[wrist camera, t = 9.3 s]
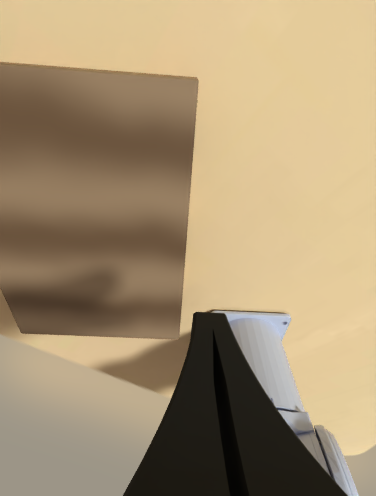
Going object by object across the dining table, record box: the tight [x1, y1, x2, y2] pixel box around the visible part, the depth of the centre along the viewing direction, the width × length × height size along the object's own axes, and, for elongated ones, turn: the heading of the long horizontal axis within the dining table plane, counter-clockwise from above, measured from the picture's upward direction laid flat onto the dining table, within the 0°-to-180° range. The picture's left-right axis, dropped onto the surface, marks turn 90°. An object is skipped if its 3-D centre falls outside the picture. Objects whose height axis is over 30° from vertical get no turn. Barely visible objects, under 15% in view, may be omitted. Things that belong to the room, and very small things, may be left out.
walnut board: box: [0, 62, 198, 340], centre depth 19 cm, size 20×14×3 cm
